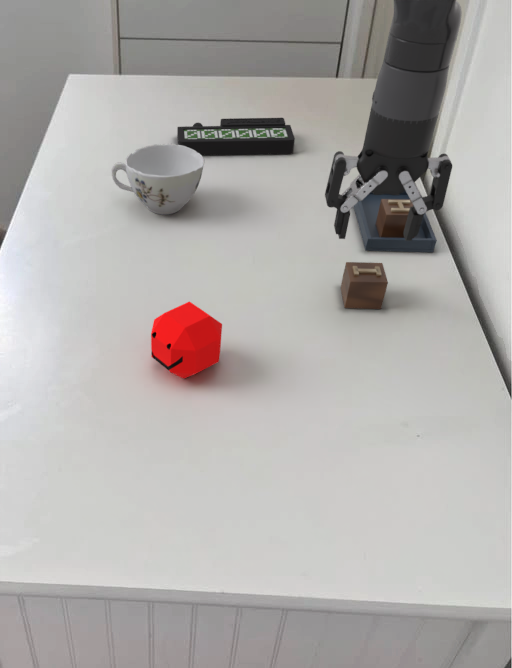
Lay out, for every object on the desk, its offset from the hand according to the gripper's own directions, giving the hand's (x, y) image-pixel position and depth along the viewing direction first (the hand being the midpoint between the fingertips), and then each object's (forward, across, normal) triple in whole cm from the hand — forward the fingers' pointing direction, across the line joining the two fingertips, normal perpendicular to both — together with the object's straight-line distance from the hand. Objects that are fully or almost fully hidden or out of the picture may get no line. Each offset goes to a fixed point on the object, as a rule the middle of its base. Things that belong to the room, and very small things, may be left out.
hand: (374, 236), depth 94 cm
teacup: (+10, -30, +26) cm, 41 cm away
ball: (+10, -24, -16) cm, 30 cm away
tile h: (+9, +8, +18) cm, 21 cm away
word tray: (+9, +8, +22) cm, 25 cm away
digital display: (+10, -17, +51) cm, 55 cm away
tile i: (+9, 0, 0) cm, 9 cm away
